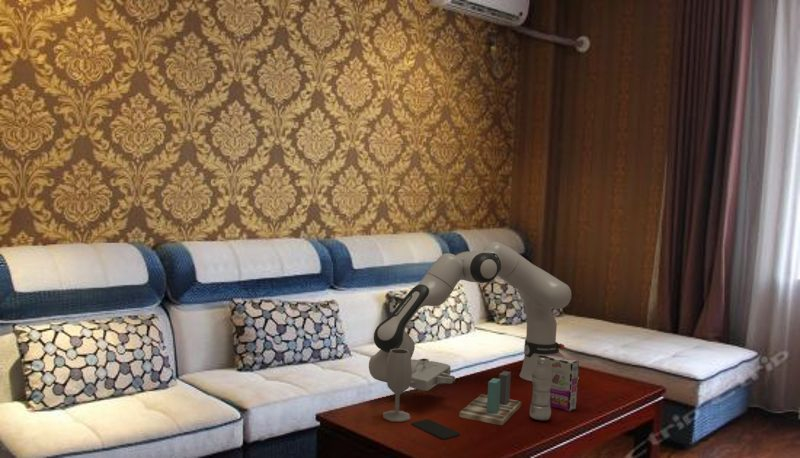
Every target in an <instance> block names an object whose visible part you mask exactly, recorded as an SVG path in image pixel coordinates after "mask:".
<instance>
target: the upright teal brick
mask: <svg viewBox="0 0 800 458" xmlns="http://www.w3.org/2000/svg"><path fill="white" fill-rule="evenodd" d="M500 386H501V379H499V378H496V377H495V378H494V377H493V378H491V379H490V380H489V381H487V395H488V397H487V412H488V413H493V414H496V413H497V412H498V411H499V403H500Z"/></svg>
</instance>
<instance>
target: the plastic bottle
mask: <svg viewBox="0 0 800 458" xmlns="http://www.w3.org/2000/svg"><path fill="white" fill-rule="evenodd" d="M549 359H550V358H549V357H548V356H538V357H537V363H538V364H537V365H536V366H535V367H534V368H533V370H532V381H531V383H532V393H531V394H532V395H531V400H530V401H531V403H530V404H529V405H530V406H529V416H530V417H531V419H533V420H537V421H541V422H542V421H543V422H544V421H548V420H550V418H551V415H552V407H551V406H550V390H551V383H552V378H553V373H552V370H551V368H550V367H549V365H548V364H549V363H550V362H549Z"/></svg>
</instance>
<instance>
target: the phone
mask: <svg viewBox="0 0 800 458" xmlns="http://www.w3.org/2000/svg"><path fill="white" fill-rule="evenodd" d="M410 425H411V426H412V425H413V426H412V427H414V426H415V428H416V427H417V428H416V429H418V428H419V429H418V430H420V429H421V430H420V431H422V430H423V432H424V433H427V434H429V435H431V436H433V437H435V438H437V439H439V440H442V441H446V440H450V439H453V438H457V437H460V436H461V432H459V431H456V430H454V429H452V428H449V427H447V426H445V425H443V424H441V423H438V422H436V421H434V420H431V419H429V418H427V419H422V420H416V421H414V422H411V423H410Z"/></svg>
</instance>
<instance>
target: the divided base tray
mask: <svg viewBox="0 0 800 458" xmlns="http://www.w3.org/2000/svg"><path fill="white" fill-rule="evenodd" d="M487 397H488V394H483V393H480V395H479V396H478V397H475V399H473V401H471V402H469V404H468V405H466V406H465V407H463V408H462V410H460V411H459V414H458V415H459V416H458V417H459V418H463V419H467V420H468V419H469V420H473V421H478V422H482V423H486V424H493V425H496V426H497V425H498V426H504V424H506V423H507V422H508V421H509V420H510V418H511V417H512V416H513V415H515V413H517V412H518V410H519V409H520V408H521V407H522V401H519V400H516V399H515V400H514V399H511V398H509V403H508V404H506V405H502V404H499V411H498V412H497V413H496V414H493V413H488V412H487Z"/></svg>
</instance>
